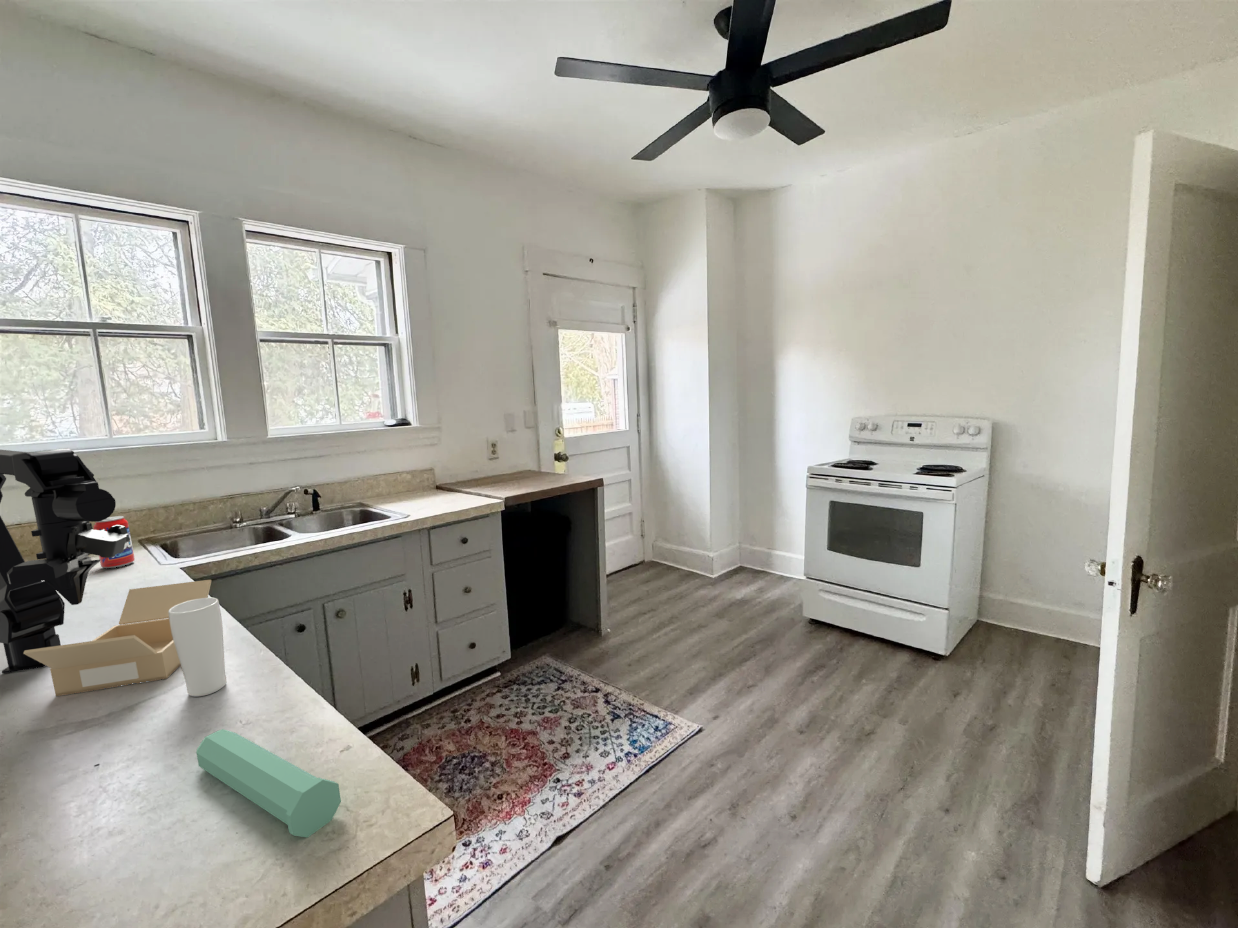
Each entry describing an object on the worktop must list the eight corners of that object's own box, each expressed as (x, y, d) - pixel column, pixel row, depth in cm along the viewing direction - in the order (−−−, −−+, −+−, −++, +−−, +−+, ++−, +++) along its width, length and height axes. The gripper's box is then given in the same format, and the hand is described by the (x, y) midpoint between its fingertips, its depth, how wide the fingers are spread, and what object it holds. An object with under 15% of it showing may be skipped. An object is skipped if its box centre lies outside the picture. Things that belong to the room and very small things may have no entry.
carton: (55, 697, 94) (49, 669, 93) (119, 649, 111) (114, 625, 110) (166, 679, 98) (161, 652, 97) (211, 635, 115) (207, 613, 114)
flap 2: (129, 589, 115) (130, 590, 115) (118, 623, 110) (119, 624, 111) (210, 579, 118) (211, 580, 119) (203, 612, 114) (204, 613, 114)
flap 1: (54, 666, 93) (53, 669, 93) (24, 650, 87) (23, 653, 87) (156, 651, 97) (156, 654, 97) (134, 634, 91) (133, 637, 91)
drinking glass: (206, 701, 90) (191, 614, 87) (171, 699, 91) (156, 612, 89) (241, 679, 96) (228, 597, 94) (209, 677, 97) (196, 596, 95)
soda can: (114, 562, 174) (106, 516, 172) (141, 560, 175) (133, 514, 173) (94, 570, 166) (84, 522, 164) (122, 568, 167) (113, 520, 165)
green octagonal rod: (193, 725, 73) (297, 786, 60) (241, 719, 78) (347, 773, 65) (180, 774, 72) (282, 846, 59) (229, 764, 77) (334, 829, 63)
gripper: (80, 527, 91) (97, 616, 94) (142, 505, 109) (156, 580, 111) (-5, 535, 89) (15, 627, 91) (74, 511, 106) (89, 588, 109)
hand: (76, 603), depth 100 cm, fingers closed
